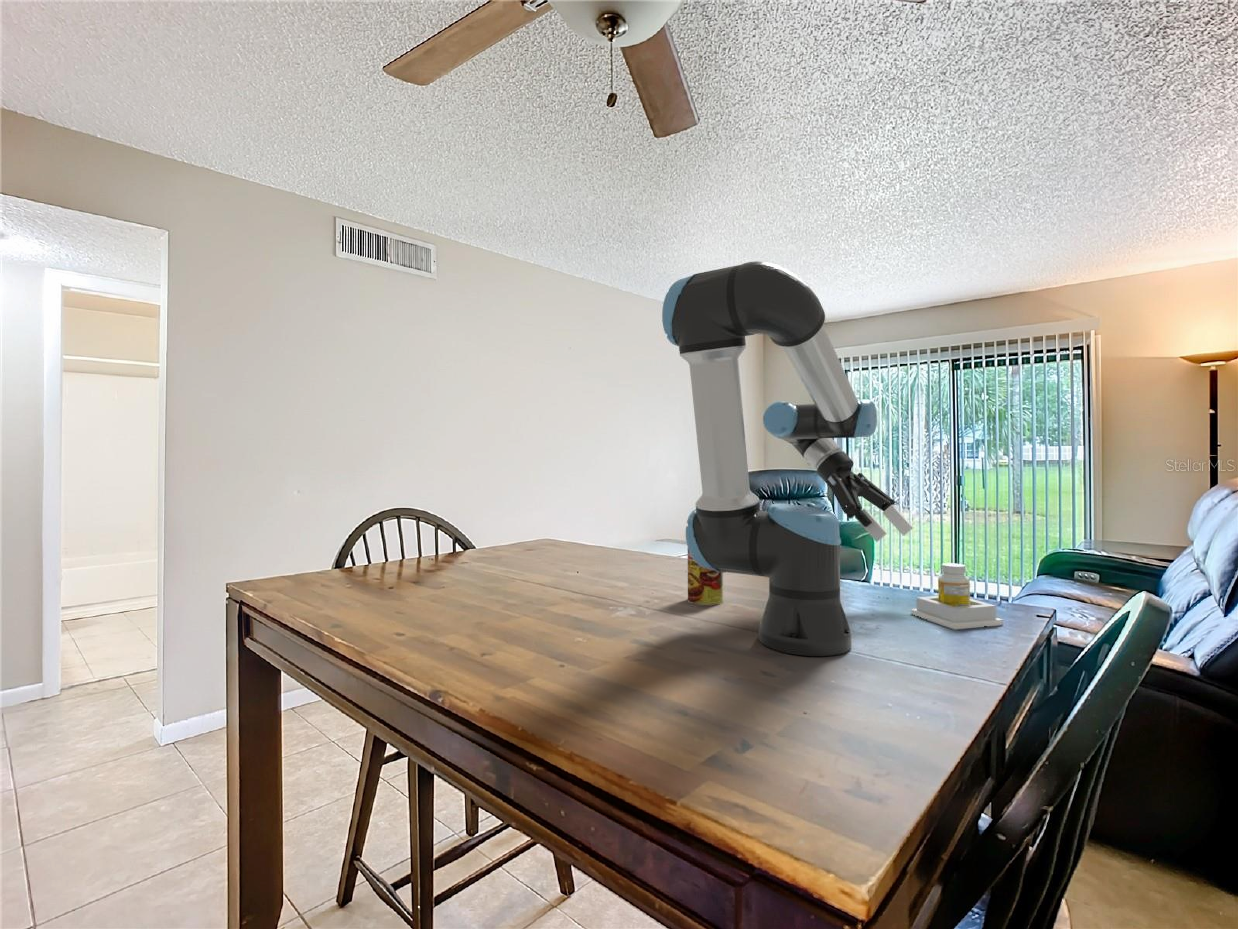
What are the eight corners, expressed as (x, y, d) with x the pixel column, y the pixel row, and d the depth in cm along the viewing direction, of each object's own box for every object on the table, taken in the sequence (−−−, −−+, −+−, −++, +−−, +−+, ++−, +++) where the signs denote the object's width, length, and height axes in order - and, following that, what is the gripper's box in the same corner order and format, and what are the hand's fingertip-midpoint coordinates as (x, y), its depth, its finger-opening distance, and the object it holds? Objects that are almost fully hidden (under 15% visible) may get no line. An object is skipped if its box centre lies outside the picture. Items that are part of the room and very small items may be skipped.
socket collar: (954, 629, 107) (954, 610, 107) (910, 614, 117) (910, 596, 117) (1002, 625, 109) (1002, 606, 109) (956, 610, 120) (955, 593, 120)
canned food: (682, 598, 133) (682, 545, 133) (714, 595, 134) (714, 544, 134) (695, 606, 125) (695, 550, 125) (729, 604, 127) (729, 549, 127)
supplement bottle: (966, 619, 110) (965, 568, 110) (935, 614, 113) (934, 565, 113) (973, 613, 114) (972, 564, 114) (943, 608, 117) (942, 561, 117)
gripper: (843, 471, 142) (905, 540, 132) (789, 473, 125) (856, 552, 115) (865, 450, 138) (931, 518, 128) (812, 448, 121) (883, 528, 111)
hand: (896, 534), depth 121 cm, fingers open, 13 cm apart
